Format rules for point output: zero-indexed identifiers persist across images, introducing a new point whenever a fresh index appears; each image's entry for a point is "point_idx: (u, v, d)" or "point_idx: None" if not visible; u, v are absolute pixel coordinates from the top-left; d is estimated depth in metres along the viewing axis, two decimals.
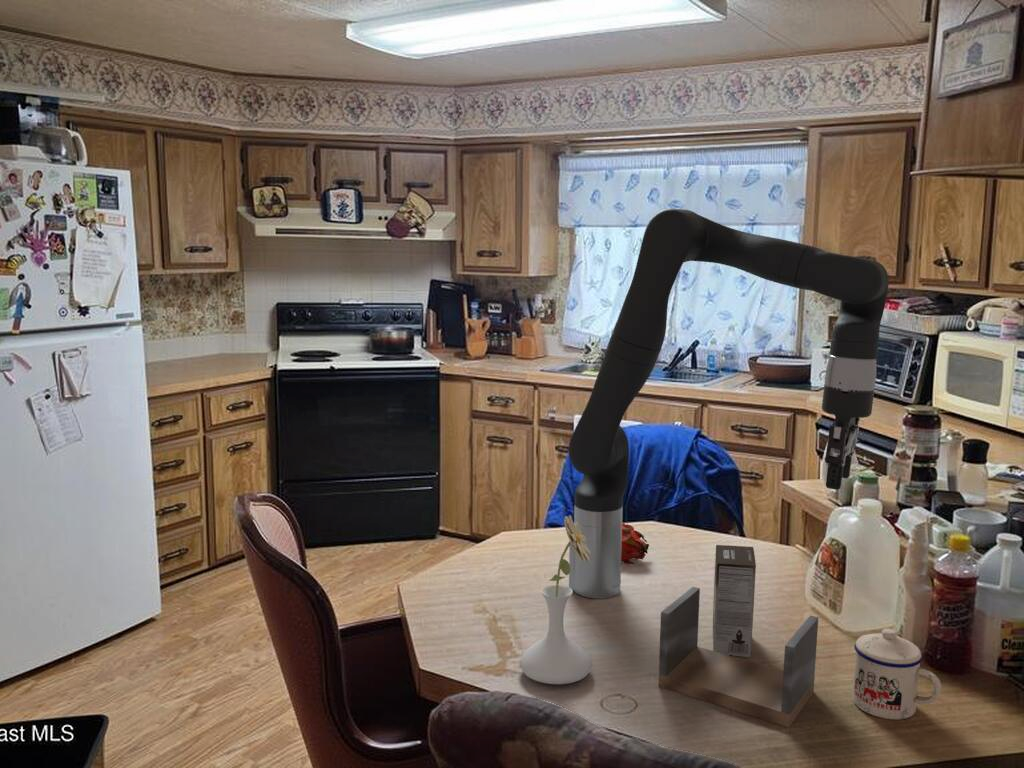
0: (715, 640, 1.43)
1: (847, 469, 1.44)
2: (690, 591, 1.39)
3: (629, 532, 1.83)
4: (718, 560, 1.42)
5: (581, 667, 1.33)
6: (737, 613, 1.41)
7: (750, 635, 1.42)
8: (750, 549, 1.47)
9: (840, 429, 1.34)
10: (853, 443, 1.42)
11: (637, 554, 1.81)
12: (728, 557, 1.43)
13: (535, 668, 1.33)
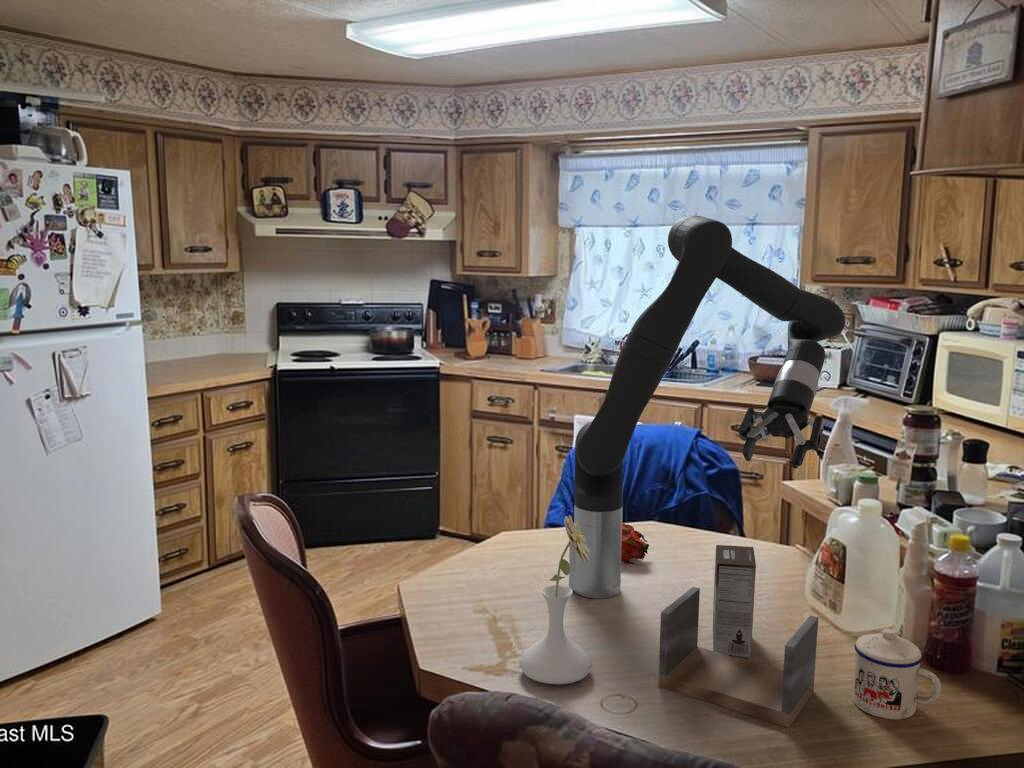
0: (715, 640, 1.43)
1: (752, 454, 1.58)
2: (690, 591, 1.39)
3: (629, 532, 1.83)
4: (718, 560, 1.42)
5: (581, 667, 1.33)
6: (737, 613, 1.41)
7: (750, 635, 1.42)
8: (750, 549, 1.47)
9: None
10: (768, 435, 1.60)
11: (637, 554, 1.81)
12: (728, 557, 1.43)
13: (535, 668, 1.33)
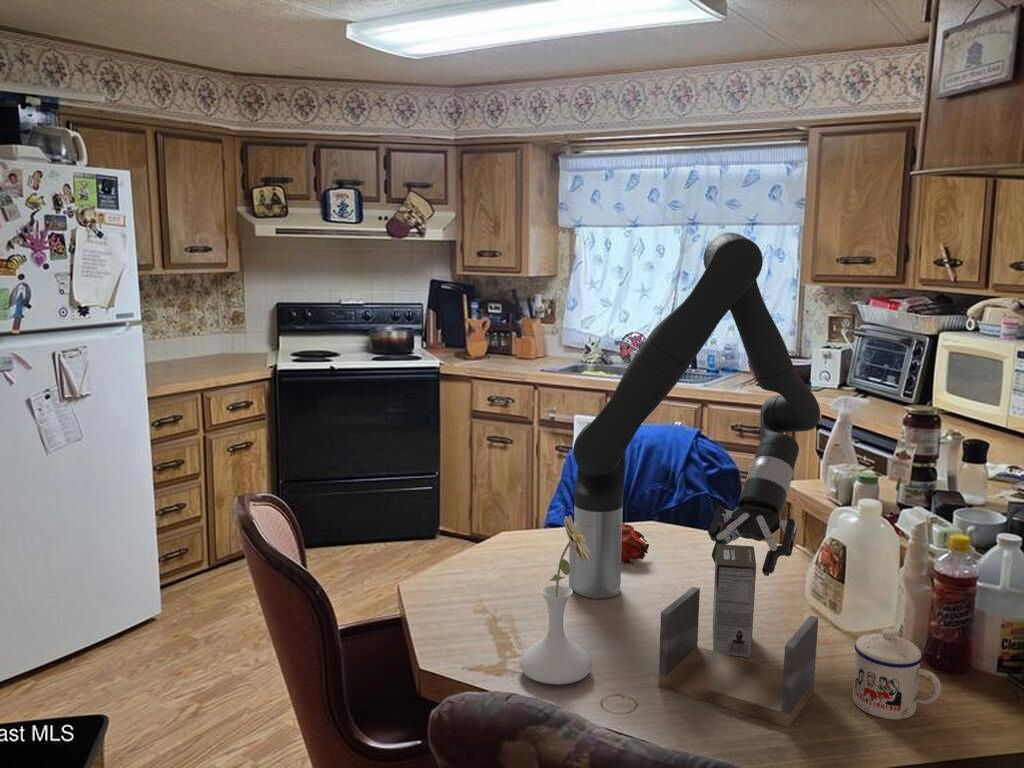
0: (715, 640, 1.43)
1: None
2: (690, 591, 1.39)
3: (629, 532, 1.83)
4: (718, 561, 1.41)
5: (581, 667, 1.33)
6: (737, 614, 1.41)
7: (750, 635, 1.42)
8: (750, 548, 1.46)
9: None
10: (738, 536, 1.53)
11: (637, 554, 1.81)
12: (728, 558, 1.42)
13: (535, 668, 1.33)
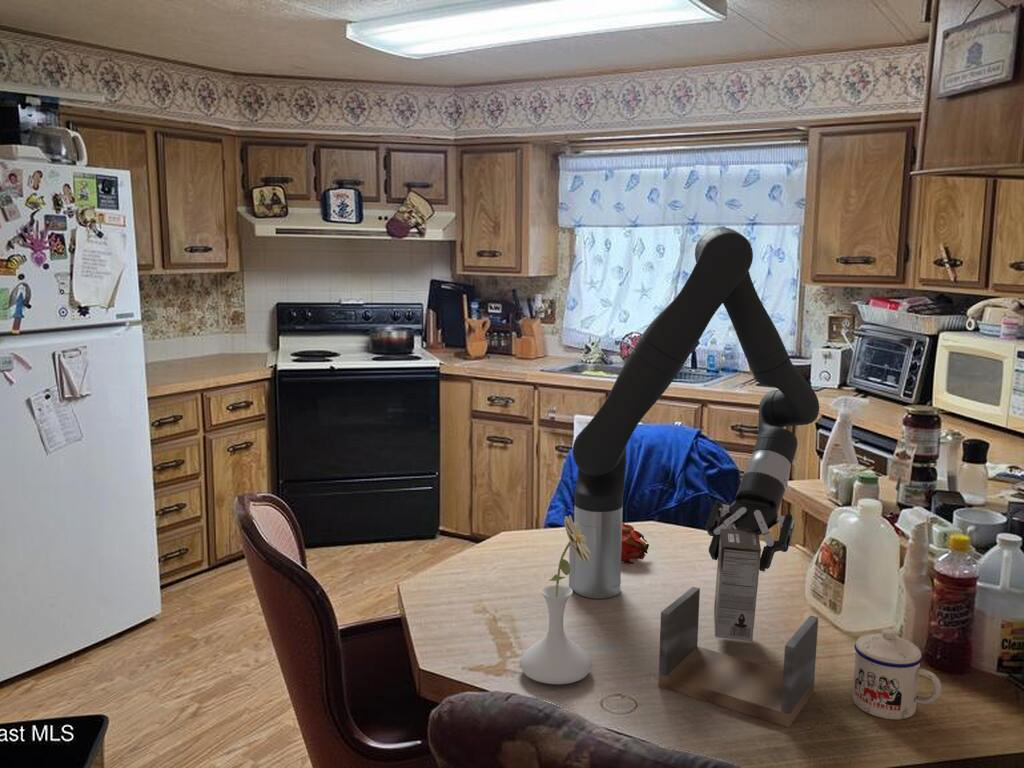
0: (717, 623, 1.43)
1: None
2: (690, 591, 1.39)
3: (629, 532, 1.83)
4: (723, 543, 1.41)
5: (581, 667, 1.33)
6: (740, 597, 1.41)
7: (752, 619, 1.41)
8: (755, 533, 1.46)
9: (793, 521, 1.47)
10: None
11: (637, 554, 1.81)
12: (733, 541, 1.42)
13: (535, 668, 1.33)
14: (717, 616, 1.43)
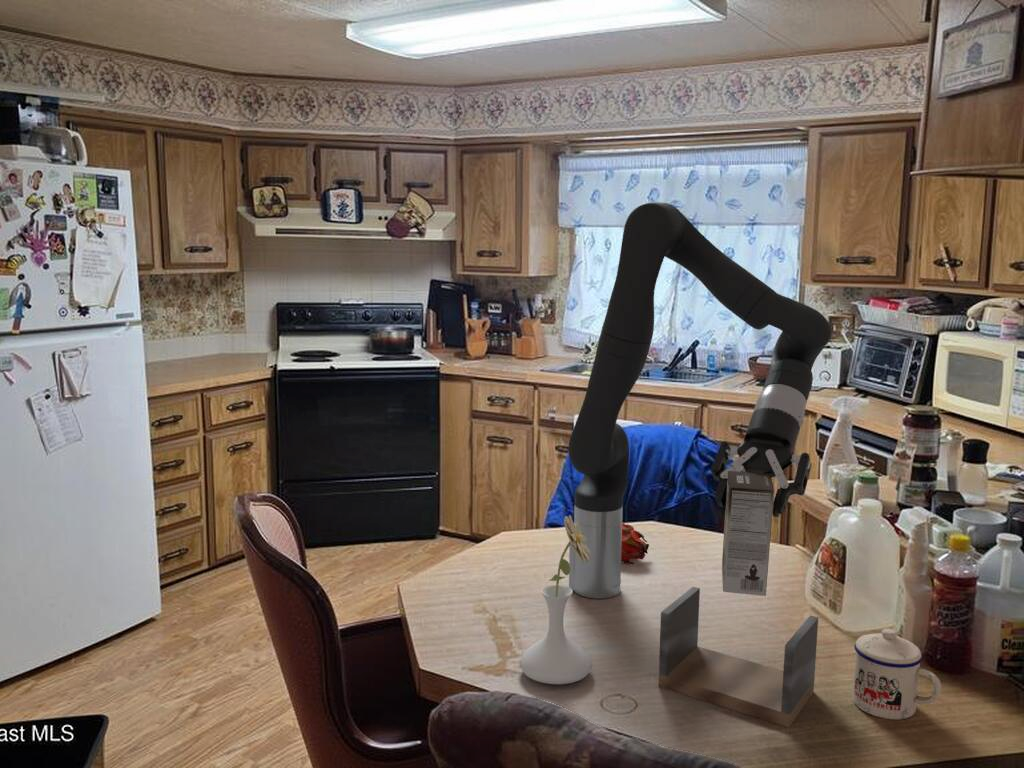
0: (725, 576, 1.26)
1: None
2: (690, 591, 1.39)
3: (629, 532, 1.83)
4: (731, 484, 1.24)
5: (581, 667, 1.33)
6: (751, 545, 1.24)
7: (766, 570, 1.24)
8: (767, 475, 1.29)
9: (810, 461, 1.30)
10: None
11: (637, 554, 1.81)
12: (742, 482, 1.25)
13: (535, 668, 1.33)
14: (725, 568, 1.25)
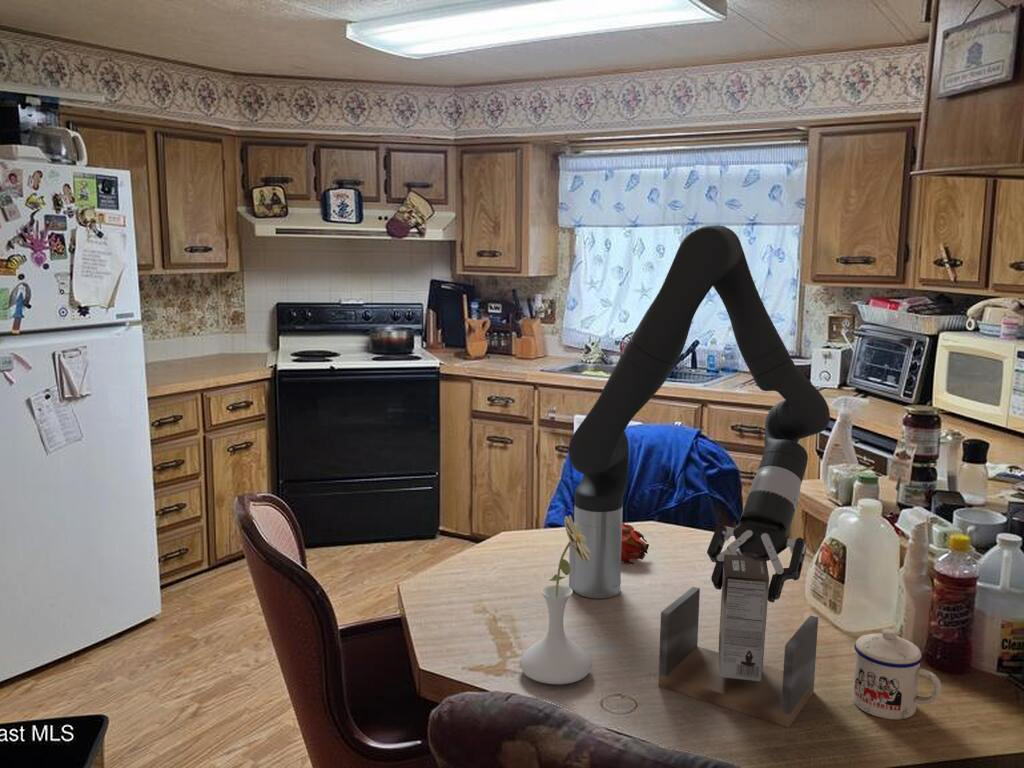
0: (722, 661, 1.28)
1: None
2: (690, 591, 1.39)
3: (629, 532, 1.83)
4: (727, 572, 1.26)
5: (581, 667, 1.33)
6: (747, 632, 1.26)
7: (761, 657, 1.26)
8: (762, 559, 1.31)
9: (805, 545, 1.32)
10: None
11: (637, 554, 1.81)
12: (737, 569, 1.27)
13: (535, 668, 1.33)
14: (721, 653, 1.27)
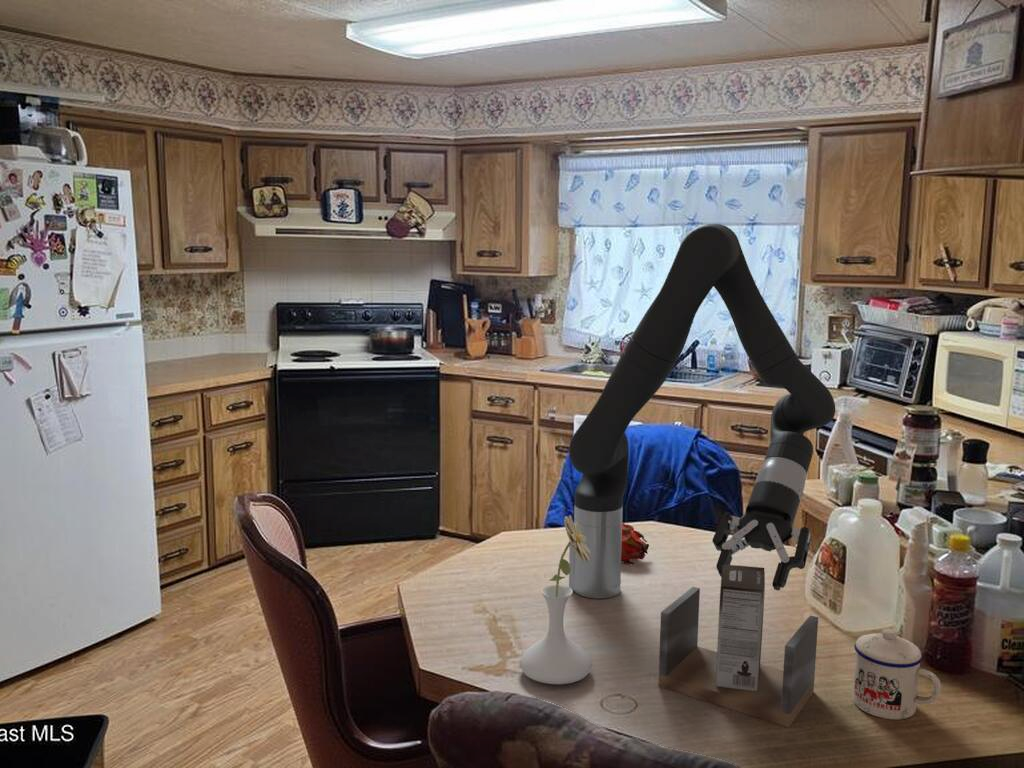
0: (718, 671, 1.28)
1: None
2: (690, 591, 1.39)
3: (629, 532, 1.83)
4: (722, 582, 1.27)
5: (581, 667, 1.33)
6: (743, 642, 1.27)
7: (757, 667, 1.27)
8: (760, 570, 1.32)
9: None
10: (746, 546, 1.38)
11: (637, 554, 1.81)
12: (734, 579, 1.28)
13: (535, 668, 1.33)
14: (718, 663, 1.28)
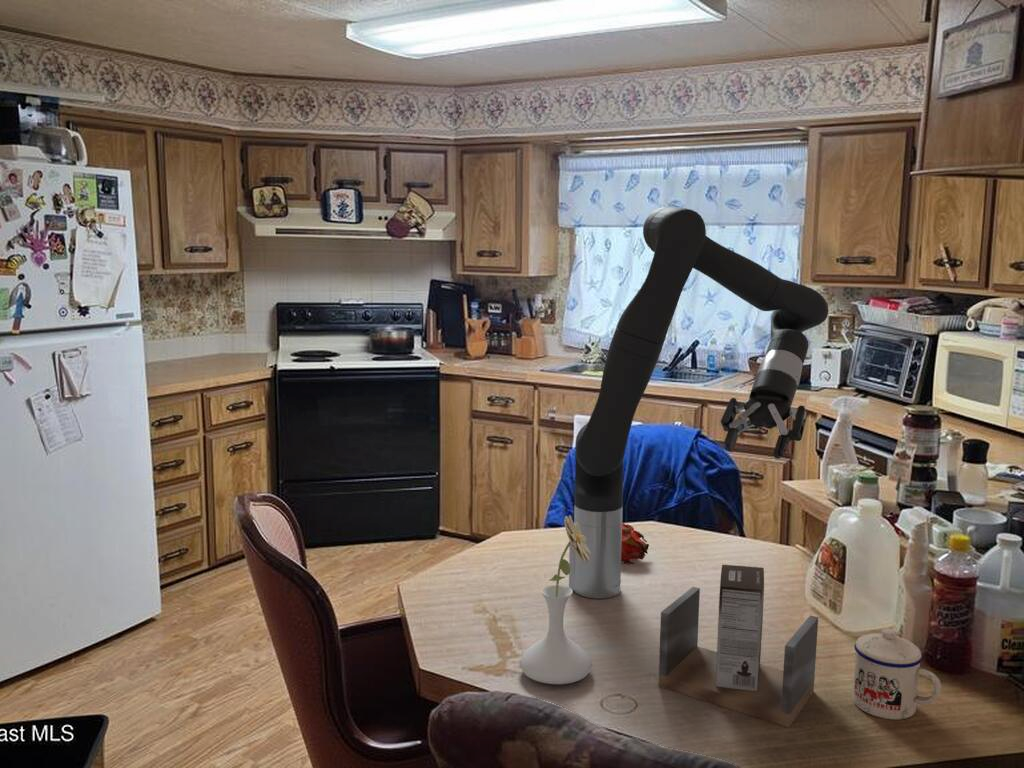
0: (718, 671, 1.28)
1: (734, 444, 1.56)
2: (690, 591, 1.39)
3: (629, 532, 1.83)
4: (722, 582, 1.27)
5: (581, 667, 1.33)
6: (742, 642, 1.27)
7: (757, 667, 1.27)
8: (760, 570, 1.32)
9: None
10: (750, 426, 1.58)
11: (637, 554, 1.81)
12: (733, 579, 1.28)
13: (535, 668, 1.33)
14: (717, 663, 1.28)
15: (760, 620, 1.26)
